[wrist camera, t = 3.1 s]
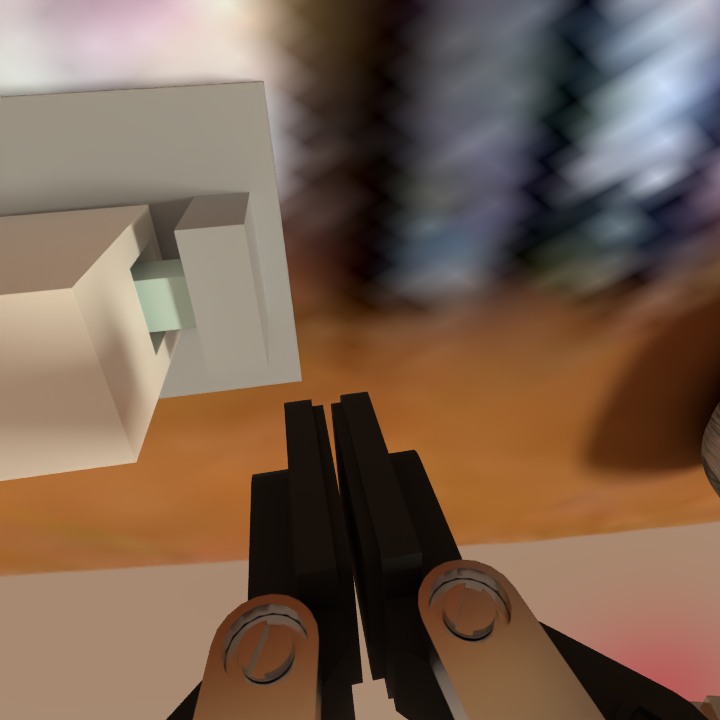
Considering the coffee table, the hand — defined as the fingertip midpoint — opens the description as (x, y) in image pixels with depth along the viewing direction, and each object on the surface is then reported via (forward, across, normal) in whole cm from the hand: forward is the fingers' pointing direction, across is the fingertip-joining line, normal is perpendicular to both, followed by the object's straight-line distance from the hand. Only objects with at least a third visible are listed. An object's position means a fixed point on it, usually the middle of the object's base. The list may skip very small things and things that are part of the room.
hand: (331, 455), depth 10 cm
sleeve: (+11, +7, -1) cm, 13 cm away
